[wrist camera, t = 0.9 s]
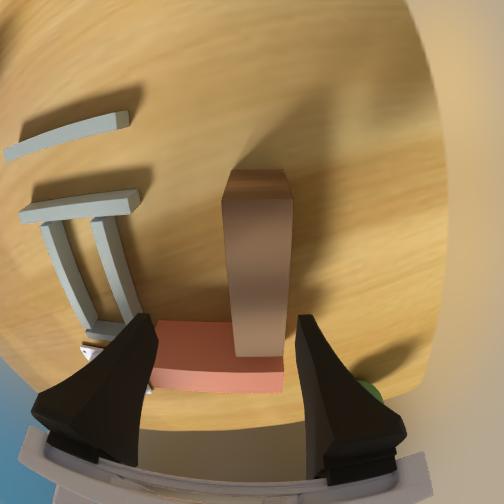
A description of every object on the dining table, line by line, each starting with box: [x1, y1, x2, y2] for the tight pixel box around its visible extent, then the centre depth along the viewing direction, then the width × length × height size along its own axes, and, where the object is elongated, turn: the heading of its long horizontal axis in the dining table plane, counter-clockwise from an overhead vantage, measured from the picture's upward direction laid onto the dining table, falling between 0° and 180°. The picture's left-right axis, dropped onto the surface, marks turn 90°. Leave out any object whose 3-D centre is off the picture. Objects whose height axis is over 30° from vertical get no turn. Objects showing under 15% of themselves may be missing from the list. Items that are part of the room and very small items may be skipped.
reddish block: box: [149, 320, 284, 393], centre depth 24 cm, size 4×12×6 cm, turn 92°
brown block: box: [221, 170, 293, 357], centre depth 19 cm, size 12×4×6 cm, turn 1°
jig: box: [4, 110, 143, 342], centre depth 21 cm, size 21×12×2 cm, turn 1°
